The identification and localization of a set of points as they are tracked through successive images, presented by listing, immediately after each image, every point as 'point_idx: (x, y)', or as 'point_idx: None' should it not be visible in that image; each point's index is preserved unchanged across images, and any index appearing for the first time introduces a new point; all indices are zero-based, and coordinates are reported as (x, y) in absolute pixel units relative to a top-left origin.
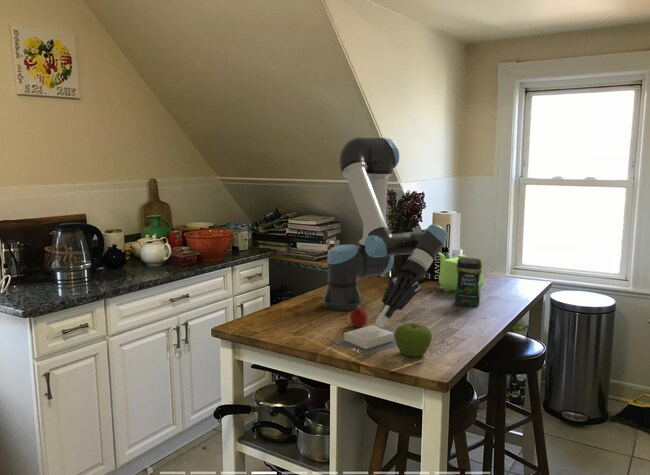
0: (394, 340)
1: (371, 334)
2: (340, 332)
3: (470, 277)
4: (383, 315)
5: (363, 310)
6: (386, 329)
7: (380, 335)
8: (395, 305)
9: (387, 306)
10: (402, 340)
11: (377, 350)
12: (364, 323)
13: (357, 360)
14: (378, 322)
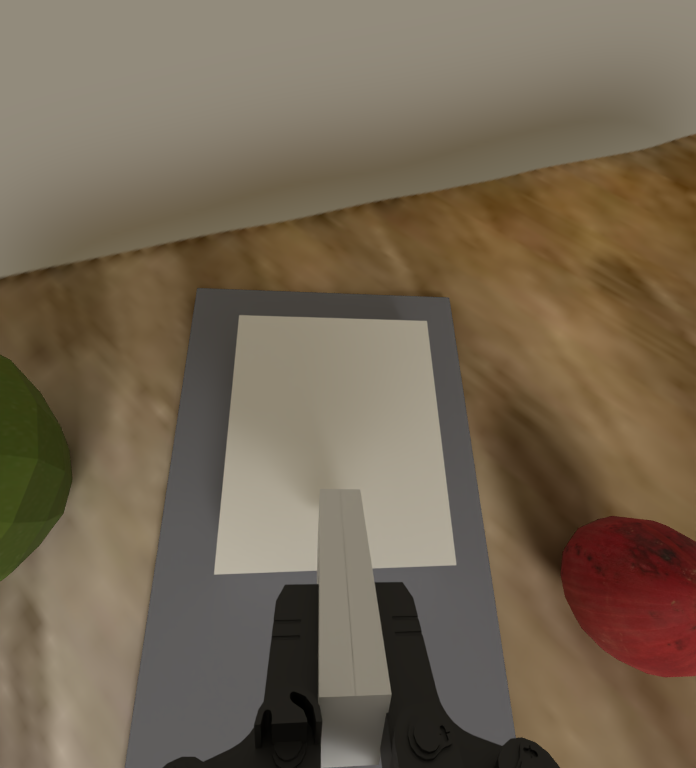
0: (237, 585)
1: (304, 417)
2: (556, 435)
3: None
4: (319, 556)
5: (677, 631)
6: None
7: (250, 450)
8: (199, 766)
9: (343, 677)
10: None
11: (199, 378)
12: (565, 596)
13: (204, 258)
14: (320, 490)
